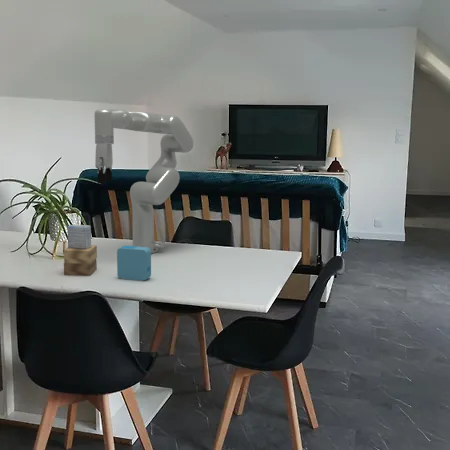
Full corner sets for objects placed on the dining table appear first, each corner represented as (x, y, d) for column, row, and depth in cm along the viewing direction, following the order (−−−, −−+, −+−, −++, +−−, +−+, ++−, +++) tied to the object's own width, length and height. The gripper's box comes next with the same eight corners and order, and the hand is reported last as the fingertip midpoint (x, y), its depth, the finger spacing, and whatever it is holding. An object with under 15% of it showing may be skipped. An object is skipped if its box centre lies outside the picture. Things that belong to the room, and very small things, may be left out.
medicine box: (91, 247, 232) (91, 225, 230) (86, 249, 228) (85, 227, 226) (73, 245, 234) (72, 224, 232) (67, 248, 229) (67, 226, 228)
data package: (151, 278, 226) (151, 247, 223) (146, 281, 221) (146, 249, 219) (122, 275, 229) (121, 245, 226) (117, 278, 224) (116, 247, 222)
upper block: (96, 257, 236) (96, 245, 235) (90, 263, 226) (90, 250, 225) (72, 257, 237) (71, 244, 236) (64, 263, 227) (63, 250, 226)
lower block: (96, 269, 237) (96, 257, 236) (89, 276, 227) (89, 263, 226) (72, 269, 238) (71, 256, 237) (64, 275, 228) (63, 263, 227)
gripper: (101, 139, 252) (102, 179, 255) (89, 141, 235) (90, 184, 238) (118, 139, 252) (119, 179, 255) (107, 141, 235) (108, 184, 238)
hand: (105, 181), depth 247 cm, fingers open, 9 cm apart
